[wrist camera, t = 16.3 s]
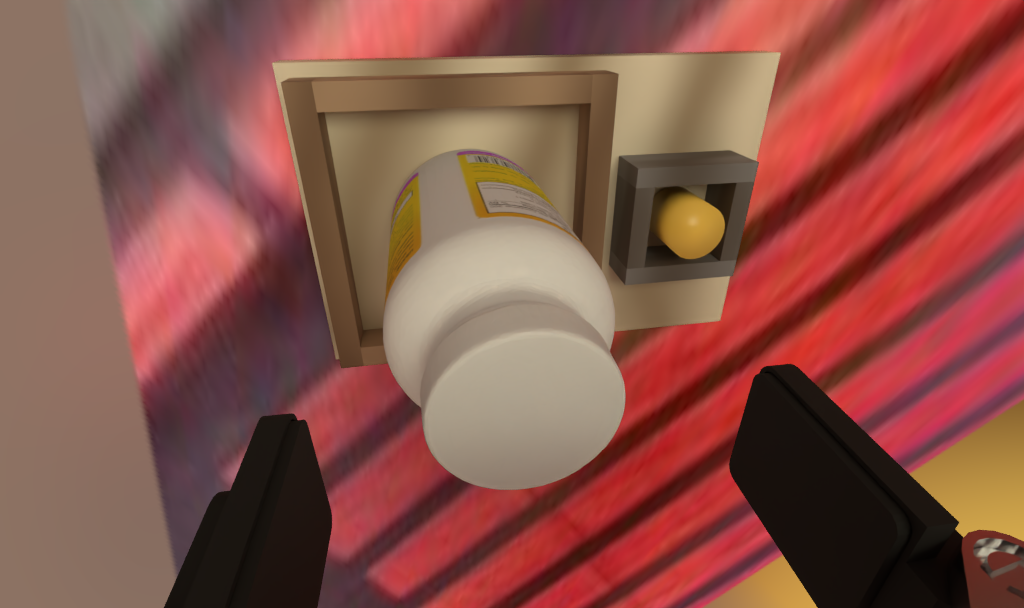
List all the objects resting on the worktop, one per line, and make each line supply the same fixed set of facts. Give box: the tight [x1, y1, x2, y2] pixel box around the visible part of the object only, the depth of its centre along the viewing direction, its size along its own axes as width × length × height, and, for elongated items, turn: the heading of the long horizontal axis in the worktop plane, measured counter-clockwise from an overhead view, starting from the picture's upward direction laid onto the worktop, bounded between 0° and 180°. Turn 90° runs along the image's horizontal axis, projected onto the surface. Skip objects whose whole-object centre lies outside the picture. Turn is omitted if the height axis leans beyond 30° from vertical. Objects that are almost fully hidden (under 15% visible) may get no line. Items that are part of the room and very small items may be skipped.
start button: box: [649, 186, 725, 259], centre depth 22 cm, size 2×2×3 cm
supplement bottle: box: [383, 149, 625, 490], centre depth 17 cm, size 7×7×13 cm
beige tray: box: [272, 51, 781, 368], centre depth 23 cm, size 20×13×3 cm, turn 90°
